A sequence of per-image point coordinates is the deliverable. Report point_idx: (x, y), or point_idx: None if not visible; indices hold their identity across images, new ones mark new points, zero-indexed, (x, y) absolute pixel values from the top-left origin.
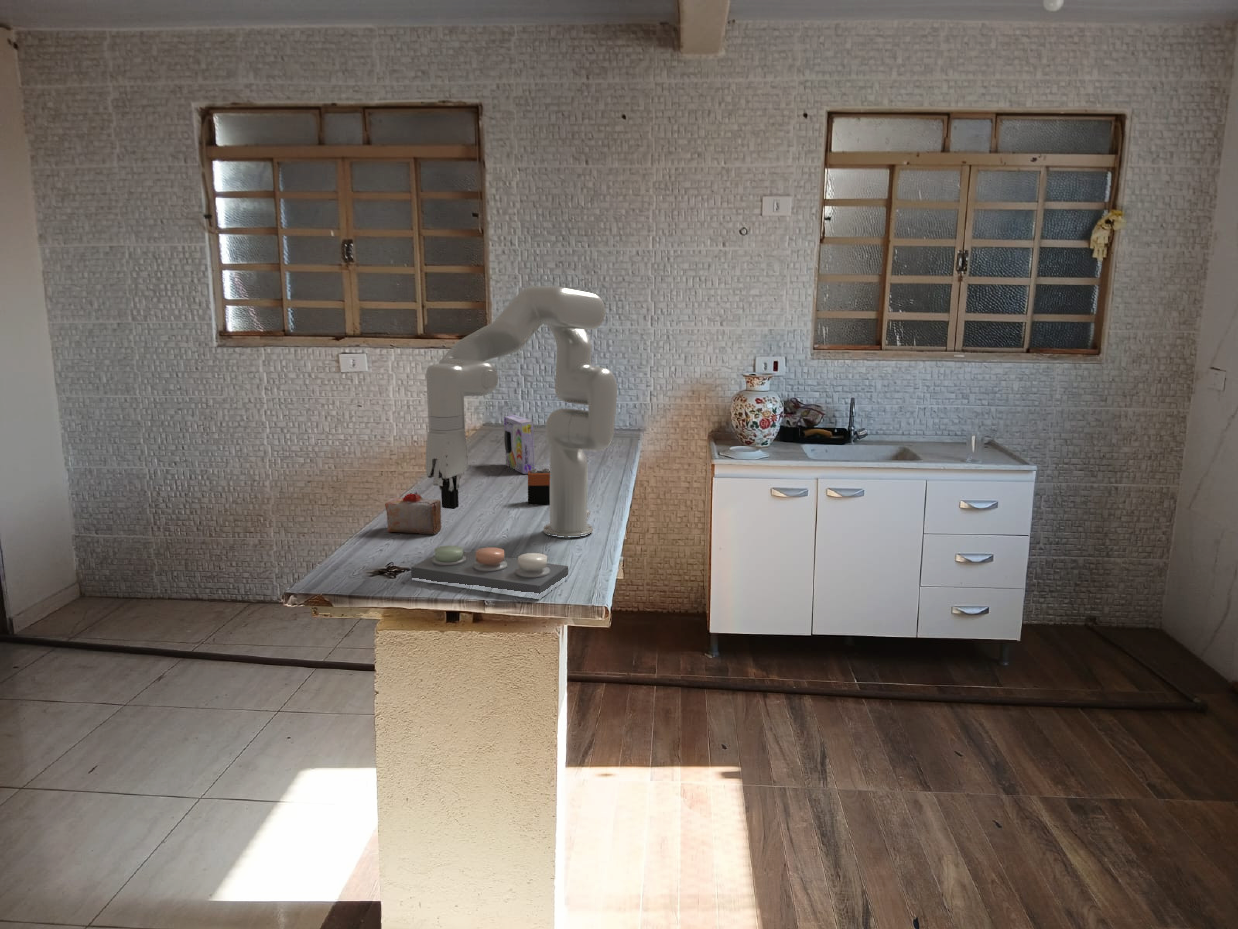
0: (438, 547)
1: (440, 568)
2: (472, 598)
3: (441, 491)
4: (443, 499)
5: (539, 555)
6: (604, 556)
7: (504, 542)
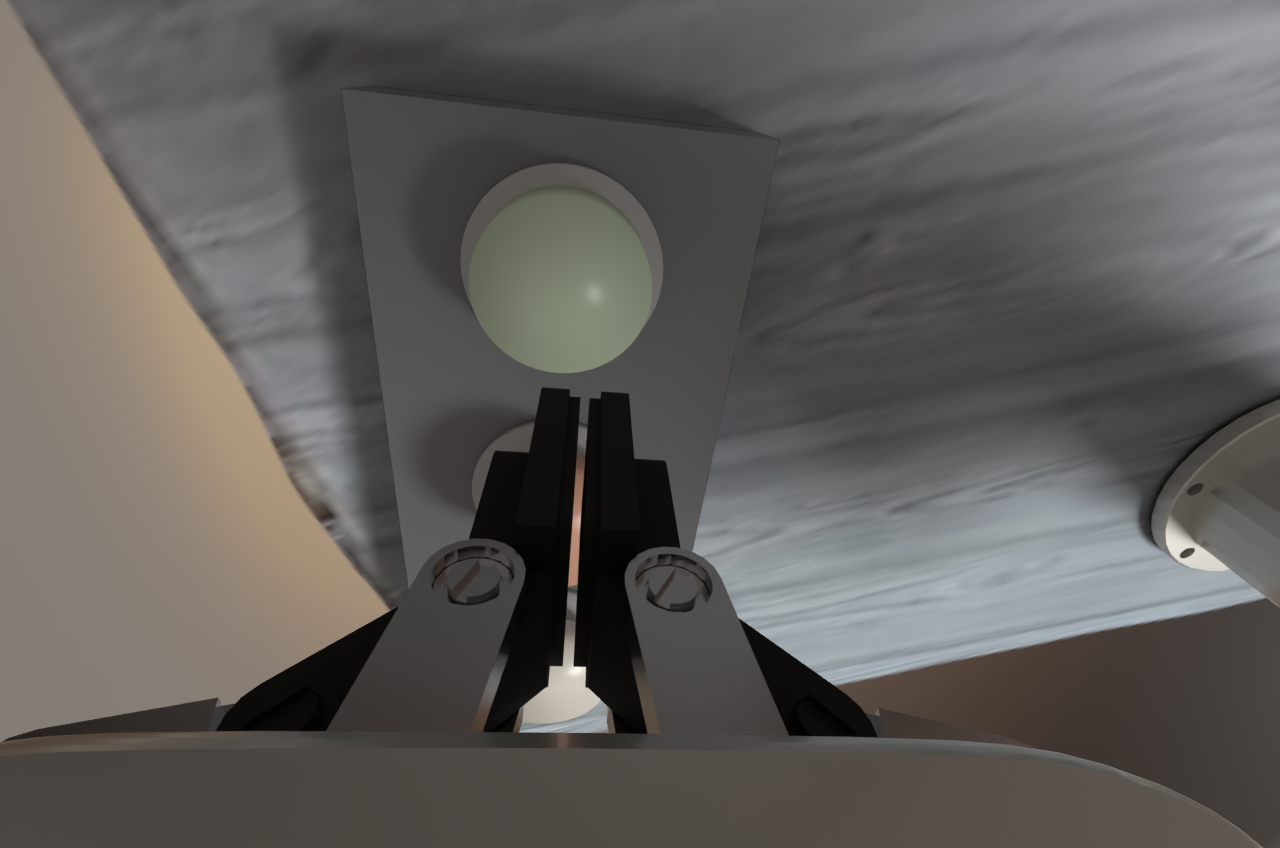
0: (580, 201)
1: (414, 288)
2: (324, 475)
3: (521, 508)
4: (487, 487)
5: (580, 696)
6: (919, 654)
7: (1137, 286)
